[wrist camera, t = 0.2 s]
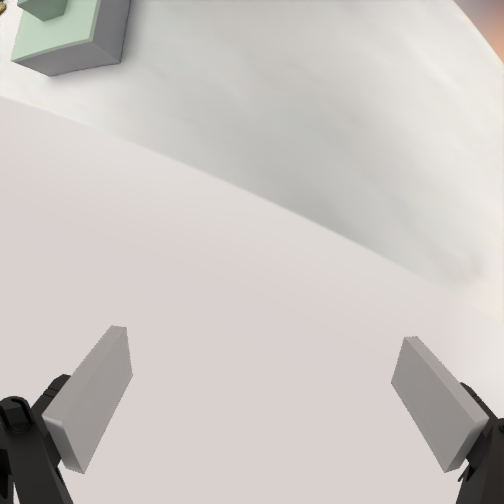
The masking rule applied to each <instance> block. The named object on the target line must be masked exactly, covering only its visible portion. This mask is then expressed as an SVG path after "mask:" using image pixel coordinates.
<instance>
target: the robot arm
mask: <svg viewBox="0 0 504 504" xmlns="http://www.w3.org/2000/svg"><path fill="white" fill-rule="evenodd" d="M132 376H133V374H132V368H131V362H130V353H129V346H128V338H127V329H126V327H119V326H111V327H110V328H109V329H108V330H107V332H106V333H105V334H104V335H103V337H102V338H101V339H100V340H99V341H98V343H97V344H96V345H95V346H94V348H93V349H92V350H91V352H90V353H89V354H88V355H87V356H86V358H85V359H84V361H83V362H82V363H81V364H80V365H79V367H78V368H77V369H76V371H75V372H74V373H73V374H72V376H70V375H66V374H63V375H61V376H59V377H58V378H56V379H54V380H53V382H52V383H51V384H50V385H49V386H48V389H46V390H45V391H44V393H43V395H41V396H40V398H39V399H38V400H37V401H36V403H35V404H34V405H33V406H32V407H31V408H30V406H29V404H28V402H27V400H25V399H24V398H22V397H17V396H10V397H7V398H4V399H3V400H1V401H0V504H14V502H13V494H14V491H13V490H14V484H15V488H16V491H17V495H18V499H19V502H20V504H73V501H72V499H71V497H70V495H69V492H68V490H67V488H66V485H65V483H64V480H63V478H62V475H61V473H60V471H59V468H58V467H57V466H58V464H59V462H60V460H61V459H62V461H63V463H64V465H65V467H66V468H67V469H69V470H73V471H75V472H79V473H82V474H85V471H86V469H87V467H88V465H89V463H90V461H91V458H92V457H93V454H94V452H95V450H96V448H97V446H98V444H99V442H100V440H101V438H102V436H103V434H104V432H105V430H106V428H107V425H108V424H109V421H110V419H111V418H112V416H113V413H114V412H115V409H116V408H117V406H118V404H119V402H120V400H121V398H122V396H123V394H124V392H125V390H126V387H127V386H128V384H129V382H130V380H131V378H132ZM391 384H392V385H393V387H394V389H395V390H396V392H397V393H398V395H399V397H400V398H401V400H402V402H403V403H404V405H405V406H406V408H407V410H408V411H409V413H410V414H411V416H412V418H413V420H414V421H415V423H416V425H417V426H418V428H419V430H420V431H421V433H422V435H423V436H424V438H425V440H426V441H427V443H428V445H429V447H430V448H431V450H432V452H433V454H434V455H435V457H436V459H437V461H438V462H439V464H440V466H441V468H442V469H443V471H444V473H446V472H449V471H452V470H455V469H458V468H460V466H461V465H462V463H463V461H464V460H465V458H466V459H467V460H468V462H469V465H468V466H467V467H466V469H465V470H464V472H463V473H462V475H461V476H460V477H459V479H458V482H460V481H461V479H462V478H463V481H462V485H461V488H460V491H459V495H458V498H457V501H456V504H504V418H501V419H498V418H497V417H496V416H495V415H494V414H493V412H492V411H491V410H490V409H489V408H488V407H487V405H486V404H485V403H484V402H483V401H482V400H481V399H480V397H479V396H477V394H476V393H475V392H474V391H473V390H472V388H470V387H469V386H467V385H466V384H464V383H462V382H461V383H459V382H458V381H457V380H456V378H455V377H454V376H453V375H452V374H451V373H450V372H449V371H448V370H447V368H446V367H445V366H444V365H443V364H442V363H441V362H440V361H439V360H438V358H437V357H436V356H435V355H434V354H433V353H432V352H431V351H430V350H429V349H428V348H427V347H426V345H424V343H423V342H422V341H421V340H420V339H419V338H418V337H417V336H415V337H404V340H403V344H402V347H401V351H400V355H399V358H398V361H397V365H396V368H395V371H394V375H393V378H392V381H391Z"/></svg>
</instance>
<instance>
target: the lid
mask: <svg viewBox="0 0 504 504" xmlns="http://www.w3.org/2000/svg"><path fill="white" fill-rule="evenodd" d="M100 3H101V0H18V3H17V6H19V7H20V8H22V9H24V10H23V13H22V17H21V20H20V24H19V28H18V31H17V35H16V39H15V43H14V48H13V52H12V57H11V61H12V62H18V61H21V60H24V59H27V58H30V57H34V56H37V55H40V54H43V53H47V52H50V51H54V50H58V49H62V48H65V47H69V46H74V45H78V44H82V43H87V42H92V41H93V36H94V31H95V26H96V21H97V16H98V12H99V7H100Z"/></svg>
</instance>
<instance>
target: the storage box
mask: <svg viewBox="0 0 504 504" xmlns="http://www.w3.org/2000/svg"><path fill="white" fill-rule="evenodd" d="M130 2H131V0H101V3H100V7H99V12H98V16H97V21H96V26H95V31H94V36H93V41H92V42H87V43H82V44H78V45H74V46H69V47H65V48H62V49H58V50H54V51H50V52H47V53H43V54H40V55H37V56H34V57H30V58H27V59H24V60H21V61H18V62H15V63H17V64H20V65H23V66H25V67H28V68H30V69H33V70H35V71H38V72H40V73H42V74H45V75H47V76H54V75H59V74H63V73H68V72H72V71H77V70H82V69H88V68H93V67H99V66H105V65H112V64H119V63H120V61H121V54H122V47H123V41H124V34H125V28H126V23H127V17H128V12H129V7H130Z"/></svg>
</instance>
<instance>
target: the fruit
mask: <svg viewBox="0 0 504 504" xmlns="http://www.w3.org/2000/svg"><path fill="white" fill-rule="evenodd" d="M4 8H5V4H3V2H0V13H1V11H2V10H4Z"/></svg>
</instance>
